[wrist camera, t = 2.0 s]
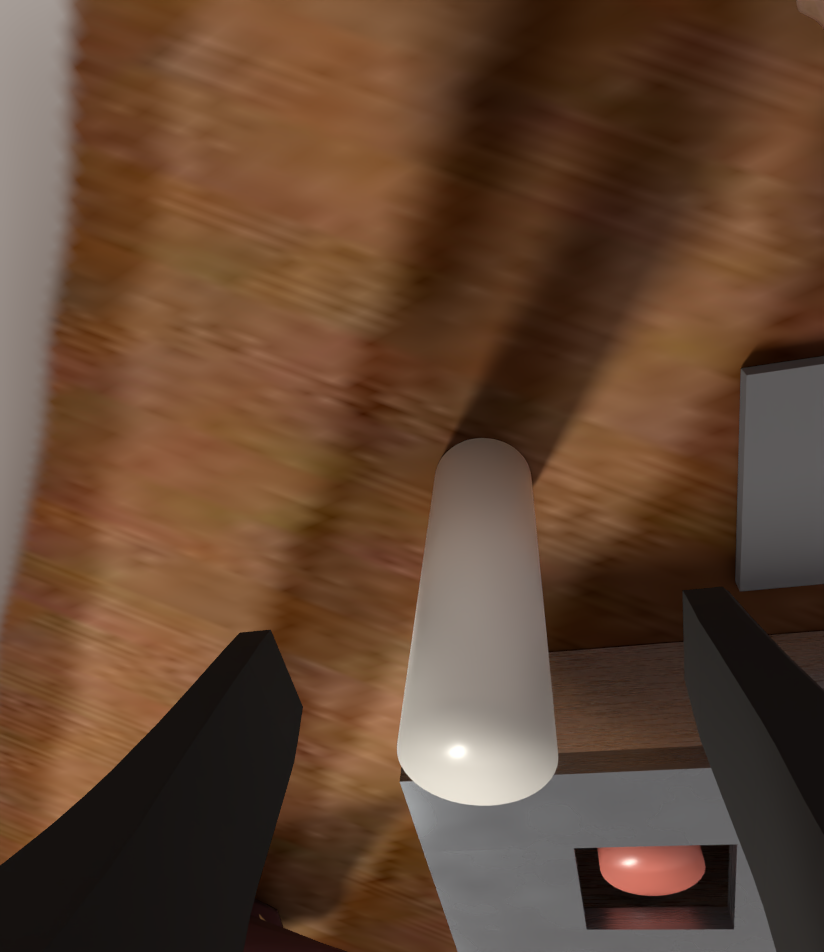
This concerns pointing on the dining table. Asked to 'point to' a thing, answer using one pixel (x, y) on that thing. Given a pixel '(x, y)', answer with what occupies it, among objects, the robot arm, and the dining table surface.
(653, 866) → the button
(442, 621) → the white rounded rod
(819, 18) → the cupcake
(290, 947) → the icecream
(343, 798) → the dining table surface
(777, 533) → the coaster
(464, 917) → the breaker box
